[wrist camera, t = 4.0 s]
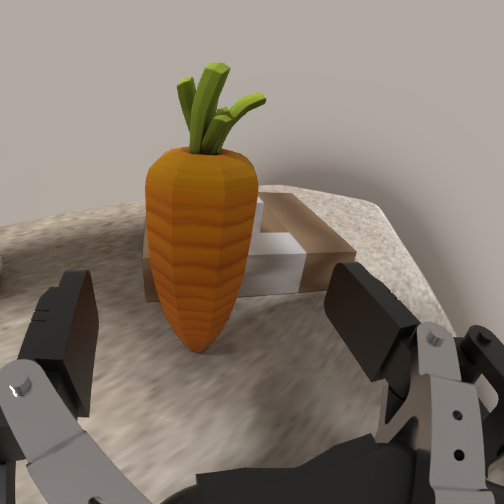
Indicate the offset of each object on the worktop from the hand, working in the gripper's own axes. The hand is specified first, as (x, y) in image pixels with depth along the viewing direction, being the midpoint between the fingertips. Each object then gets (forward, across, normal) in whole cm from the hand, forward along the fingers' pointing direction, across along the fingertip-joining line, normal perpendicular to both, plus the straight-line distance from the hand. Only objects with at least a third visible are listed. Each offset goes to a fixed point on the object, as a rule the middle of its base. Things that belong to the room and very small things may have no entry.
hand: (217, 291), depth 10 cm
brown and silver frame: (+17, -5, +8) cm, 19 cm away
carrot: (+5, 0, +8) cm, 10 cm away
